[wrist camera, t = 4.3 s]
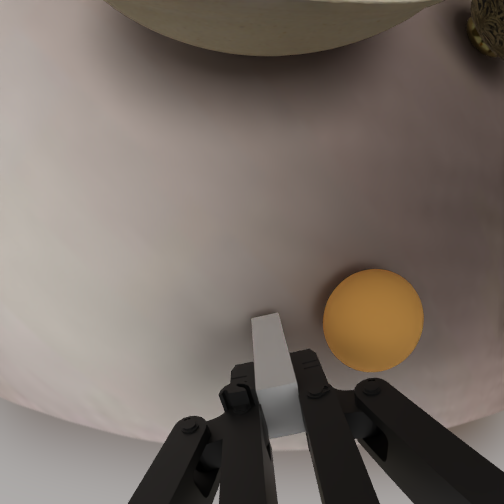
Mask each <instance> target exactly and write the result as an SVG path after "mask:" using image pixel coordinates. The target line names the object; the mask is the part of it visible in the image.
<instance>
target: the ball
mask: <svg viewBox="0 0 504 504" xmlns="http://www.w3.org/2000/svg"><path fill="white" fill-rule="evenodd" d="M423 322H424V314H423V308H422V304H421V301H420V298H419V296H418V294H417V292H416V291H415V289H414V288H413V287H412V285H411V284H410V283H409V282H408V281H407V280H405V279H404V278H403V277H401V276H400V275H398V274H396V273H393V272H391V271H388V270H383V269H368V270H363V271H360V272H357V273H355V274H352V275H351V276H349V277H347V278H346V279H345V280H343V281H342V282H341V283H340V284H339V285H338V286H337V287H336V288H335V289H334V291H333V292H332V294H331V295H330V297H329V299H328V301H327V304H326V307H325V310H324V315H323V330H324V335H325V339H326V341H327V344H328V346H329V348H330V350H331V351H332V353H333V354H334V355H335V356H336V357H337V358H338V359H339V360H340V361H341V362H342V363H343V364H345V365H347V366H348V367H350V368H353V369H355V370H359V371H363V372H380V371H384V370H387V369H390V368H392V367H394V366H396V365H398V364H399V363H401V362H402V361H404V360H405V359H406V358H407V357H408V356H409V355H410V354H411V353H412V351H413V350H414V348H415V347H416V345H417V343H418V341H419V339H420V337H421V333H422V329H423Z"/></svg>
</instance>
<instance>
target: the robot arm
mask: <svg viewBox="0 0 504 504" xmlns="http://www.w3.org/2000/svg"><path fill="white" fill-rule="evenodd" d="M251 322H252V338H253V354H254V362H249V363H244V364H239V365H235V367H234V368H233V370H232V371H231V381H230V384H229V385H227V386H225V387H224V388H223V389H222V390H221V391H220V393H219V397H220V400H221V402H222V405H223V408H224V411H225V412H224V414H222V415H221V416H219V417H217V418H215V419H212V420H209V421H205V419H203V418H202V417H199V416H189V417H186V418H183V419H182V420H180V421H178V422H177V423H176V425H175V426H174V427H173V429H172V431H171V433H170V434H169V436H168V438H167V439H166V441H165V443H164V444H163V446H162V448H161V450H160V451H159V453H158V455H157V456H156V458H155V460H154V461H153V463H152V465H151V466H150V468H149V469H148V471H147V473H146V474H145V476H144V478H143V480H142V481H141V483H140V484H139V486H138V488H137V489H136V491H135V492H134V494H133V496H132V497H131V499H130V501H129V502H128V504H212V503H213V500H214V497H215V495H216V492H217V490H218V487H219V484H220V495H219V504H278V501H277V492H276V484H275V475H274V466H273V457H272V448H271V445H270V441H269V438H270V439H272V438H277V437H282V436H287V435H292V434H297V433H301V432H306V436H307V442H308V447H309V451H310V454H311V458H312V462H313V467H314V471H315V475H316V479H317V484H318V488H319V493H320V497H321V501H322V504H380V503H379V500H378V498H377V496H376V493H375V490H374V488H373V485H372V483H371V480H370V477H369V475H368V473H367V470H366V467H365V465H364V462H363V460H362V457H361V455H360V452H359V450H358V447H357V445H356V442H355V440H354V439H357V440H358V442H359V443H360V444H361V445H362V446H363V447H364V449H365V450H366V451H367V452H368V453H369V454H370V456H371V457H372V458H373V459H374V460H375V461H376V462H377V463H378V465H379V466H380V467H381V468H382V469H383V470H384V471H385V472H386V473H387V475H388V476H389V477H390V478H391V479H392V480H393V481H394V482H395V483H396V484H397V486H398V487H399V488H400V489H401V490H402V491H403V492H404V493H405V494H406V495H407V496H408V498H409V499H410V500H411V501H412V502H413V503H414V504H504V472H503V471H501V470H500V469H499V468H497V467H496V466H495V465H494V464H492V463H491V462H490V461H488V460H487V459H486V458H484V457H483V456H482V455H480V454H479V453H478V452H476V451H475V450H474V449H472V448H471V447H469V445H467V444H466V443H465V442H463V441H462V440H461V439H459V438H458V437H457V436H456V435H454V434H453V433H452V432H450V431H449V430H448V429H446V428H445V427H444V426H443V425H441V424H440V423H439V422H437V421H436V420H435V419H434V418H432V417H431V416H430V415H428V414H427V413H426V412H425V411H423V410H422V409H421V408H419V407H418V406H417V405H416V404H414V403H413V402H412V401H411V400H409V399H408V398H407V397H405V396H404V395H403V394H402V393H400V392H399V391H398V390H397V389H395V388H394V387H393V386H392V385H390V384H389V383H388V382H387V381H385V380H383V379H379V378H369V379H366V380H363V381H361V382H360V383H358V384H357V386H356V387H355V390H348V391H344V390H337V389H334V388H333V387H332V386H331V385H330V384H328V382H327V379H326V377H325V374H324V372H323V369H322V367H321V365H320V362H319V360H318V357H317V355H316V353H315V352H313V351H312V350H310V349H306V350H302V351H297V352H293V353H289V351H288V347H287V343H286V340H285V336H284V332H283V328H282V325H281V321H280V317H279V313H273V314H269V315H264V316H260V317H255V318H251Z"/></svg>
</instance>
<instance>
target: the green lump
mask: <svg viewBox="0 0 504 504" xmlns="http://www.w3.org/2000/svg"><path fill="white" fill-rule="evenodd" d="M471 15H472V16H470V17H469V19H468V21H467V23H466V31H467V34H468V37H469V39H470V41H471V42H472V44H473V45H474V46H475V48H476V49H477V50H478V51H479V52H481V53H482V54H483V55H485V56H488V57H494V58H495V57H499V58H501V59H502V60H504V0H472V2H471Z"/></svg>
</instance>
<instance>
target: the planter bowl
mask: <svg viewBox="0 0 504 504" xmlns="http://www.w3.org/2000/svg"><path fill="white" fill-rule="evenodd" d="M104 1H105V2H107V3H108V4H109V5H111V6H112V7H113V8H115V9H116V10H117V11H119V12H120V13H122V14H123V15H125V16H126V17H128V18H130V19H131V20H133V21H135V22H137V23H139V24H140V25H142V26H144V27H146V28H148V29H150V30H152V31H155V32H157V33H159V34H161V35H164V36H167V37H169V38H172V39H174V40H177V41H180V42H183V43H186V44H190V45H192V46H196V47H200V48H204V49H209V50H214V51H218V52H224V53H230V54H239V55H251V56H285V55H296V54H305V53H312V52H319V51H323V50H328V49H333V48H337V47H341V46H345V45H348V44H352V43H355V42H358V41H361V40H364V39H367V38H369V37H372V36H375V35H377V34H379V33H381V32H383V31H386V30H388V29H390V28H392V27H394V26H396V25H398V24H400V23H402V22H404V21H406V20H407V19H409V18H410V17H412V16H414V15H415V14H417V13H418V12H419V11H421V10H422V9H424V8H426V7H429V6H432V5H435V4H437V3H440V2H442V1H444V0H104Z"/></svg>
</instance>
